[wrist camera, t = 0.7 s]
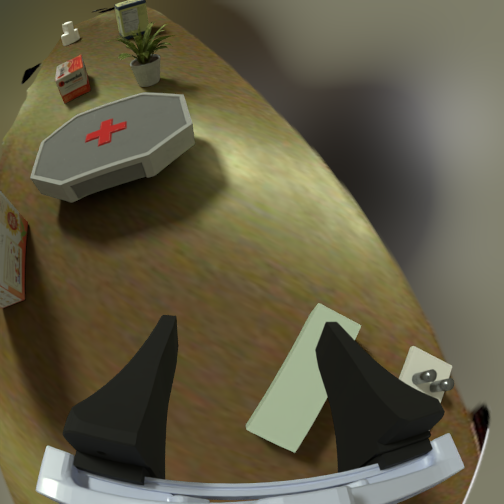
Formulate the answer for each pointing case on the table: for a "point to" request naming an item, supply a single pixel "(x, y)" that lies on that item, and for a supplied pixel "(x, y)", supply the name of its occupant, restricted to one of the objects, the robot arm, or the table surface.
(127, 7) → the protein box
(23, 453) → the table surface
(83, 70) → the medicine box
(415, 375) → the peg stand
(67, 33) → the cylinder with rectangular tab
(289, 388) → the pale green block
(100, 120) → the first aid kit
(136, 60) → the house plant
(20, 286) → the cracker box
